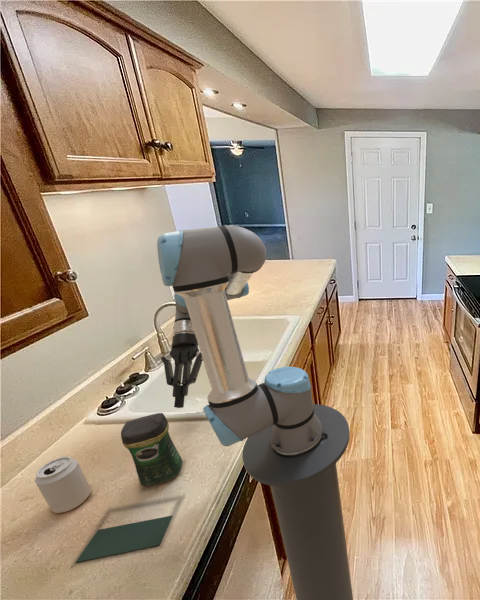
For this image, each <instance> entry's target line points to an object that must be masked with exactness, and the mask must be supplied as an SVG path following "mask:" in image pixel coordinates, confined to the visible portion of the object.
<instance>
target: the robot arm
mask: <svg viewBox="0 0 480 600" xmlns="http://www.w3.org/2000/svg"><path fill="white" fill-rule="evenodd" d="M156 247H157V257H158V264H159V265H158V266H159V271H160V274H161V280H162V284H163V285H164V287H172V289H173V292H174V293H173V294H174V295H173V297H174V301H175V303H174V304H175V314H174V316H175V317H174V324H173V330H172V334H173V335H172V339H171V349H170V351H169V353H168V355H166V356H161V357H160V360H161V362H162V363H163V366H164V367H163V368H164V373H165V380H166V385H168V386H170V387H172V397H173V398H174V404H173V407H174V408H176V409H181V408H182V409H183V408H184V405H185V397H187V396H188V394H189V386H190V385H192V384H195V383H196V382H197V379H198V376H199V373H200V369H201V366H202V364H204V368H205V371H206V374H207V378H208V381H209V384H210V388H211V390H210V393H209V394H208V396H207V397H206V398H207V399H206V400H207V402H208V404H206V405H205V406H203V408H202V410H203V412H204V414H205V416H206V419H207V420H208V422H209V424H210V426H211V428H212V430H213V432H214V435H216V437H217V440H218V441H219V443H220V444H221V445H222V446H223V447H230V446H232V445H234V444H236V443H239V442H243V441H245V439H246V440H247V438H248V437H250V436H252V435H254V434H256V433H258V432H260V431H262V430H264V429H266V428H268V427H270V426H272V425H273V428H272V434H271V446H272V449H273V451H274V452H275V453H276V454H277V455H279V456H282V457H288V458H291V457H298V456H302V455H304V454H307V453H308V452H310V451H312V450H313V449H314V448H316V447H317V446H318V444H319V443H320V442H321V440H322V438H323V436H325V437H327V435H328V434H326V433H323V427H322V424H321V422H320V420H319V419H318V417H317V415H316V414H315V412H314V408H313V404H314V401H313V400H314V399H313V393H312V384H311V381H310V377H309V374H308V373H307V371H305V370H304V369H302V368H300V367H296V366H281V367H277V368H274V369H272V370H270V371H268V373H267V374H266V375H265V376H264V382H262V383H259V384H258V383H257V381H256V380H255V379H253V378H250V377H249V374H248V370H247V367H246V364H245V359H244V356H243V353H242V349H241V345H240V342H239V338H238V333H237V332H236V327H235V325H234V324H235V323H234V320H233V316H232V313H231V309H230V305H229V302H228V301H231V300H235V299H241V298H242V297H243V298H244V297H246V296H248V295H249V293H250V287H249V283H248V282H249V280H250V279H251V277H252V275H253V274H254V273H256V272H258V271H260V270H261V269H262V267H263V266H264V265H265V263H266V260H267V248H266V245H265V244H264V242H263V240H262V239H261V238H260V236H258V235H257V234H256V233H255V232H253V231H252V230H249V229H247V228H245V227H243V226H238V225H231V224H229V225H222V226H215V227H214V226H213V227H204V228H203V227H202V228H192V229H180V230H176V231H170V232H165V233H162V234H160V235H159V236H158V238H157V241H156ZM172 359H173V360H172ZM193 360H194V362H193ZM172 362H174V370H173V364H172ZM192 365H193V366H192Z"/></svg>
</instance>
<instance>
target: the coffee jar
mask: <svg viewBox="0 0 480 600" xmlns="http://www.w3.org/2000/svg"><path fill="white" fill-rule="evenodd" d="M169 428H170V423H169V421H168V420H167V417H166V416H165V415H164V413H162V412H158V413H153V414H148V415H145V416H141V417H137V418H134V419H132V420H131V419H130V420H127V421H126V422H125V423H124V425H123V426H122V428H121V431H120V438H121V441H122V443H121V444H122V445H123V446H124V447H125V448H126V449H127V450H128V451H129V453H130V455H131V457H132V460H133V464H134V467H135V470H136V475H137V478H138V481H139V484H140V486H142V487H146V488H147V487H152V486H156V485H160V484H163V483H166V482H169V481H170V480H173V479H174V478H176V477H177V476H178V475H179V474H180V473H181V470H182V468H183V459H182V457H181V454H180V452H179V451H178V449H177V447H176V446H175V444H174V442H173V440H172V437H171V436H170V435H171V434H170V432H169Z"/></svg>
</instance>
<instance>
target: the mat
mask: <svg viewBox="0 0 480 600" xmlns="http://www.w3.org/2000/svg"><path fill="white" fill-rule="evenodd" d="M173 517H174V515H173V514H172V515H167V516H163V517H162V516H161V517H156V518H151V519H146V520H141V521H136V522H130V523H125V524H121V525H116V526H111V527H106V528H100V529H97V530H96V532H95V533H94V535H93V536H92V538H91V539H90V540H89V542H88V543H87V545H86V546H85V548H84V549H83V551H82V552H81V553H80V555H79V556H78V558H77V559H76V560H75V563H76V564H79V563H82V562H83V563H84V562H88V561H92V560H97V559H102V558H107V557H111V556H118V555H121V554H125V553H131V552H136V551H141V550H145V549H151V548H154V547H155V548H156V547H159V546H160V545H161V544H162V543H161V542H162V541H163V539H164V536H165V535H166V532H167V530H168V528H169V526H170V523H171V521H172V519H173Z"/></svg>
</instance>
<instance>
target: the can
mask: <svg viewBox="0 0 480 600" xmlns="http://www.w3.org/2000/svg"><path fill="white" fill-rule="evenodd" d="M35 476H36V477H35V479H34V483H35V484H36V486H37V488H38V490H39V492H40V494H41V495H42V497H43V498H44V500H45V502H46V504H47V506H48V507H49V509H50V510H51V512H52V513H55V514H61V513H66V512H69V511H72V510H74V509H76V508H77V507H79V506H80V505H82V503H84V502H85V501H86V500H87V499H88V497H89V496H90V494H91V493H92V488H91V485H90V484H89V481H88V479H87V477H86V475H85V474H84V471H83V470H82V468H81V466H80V463H79V462H78V460H77V459H75V458H72V457H71V456H68V455H67V456H60V457H57V458H55V459H52V460H50V461H48V462H46V463H45V464H43V465H42V466H41V467H40V468H39V469H38V470H37V471H36V473H35Z"/></svg>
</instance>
